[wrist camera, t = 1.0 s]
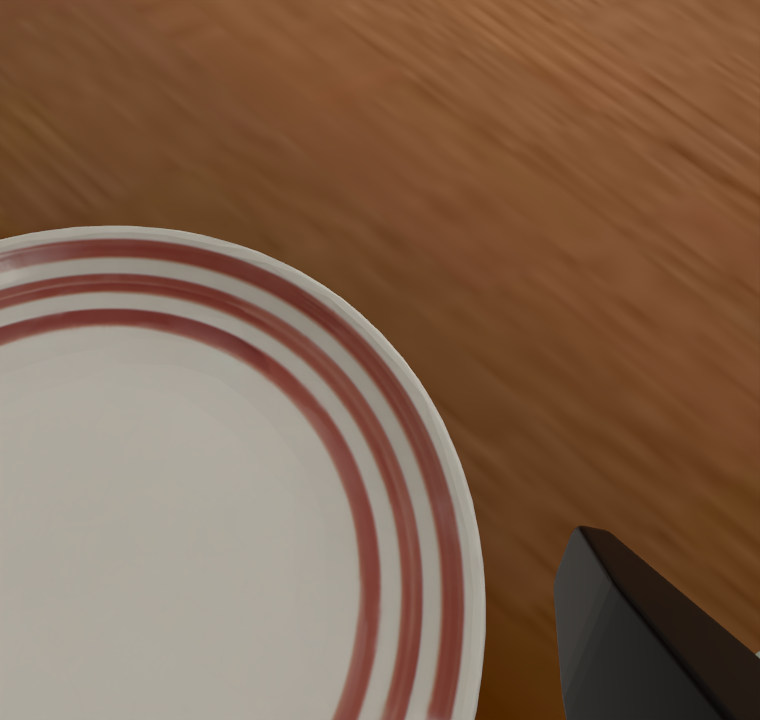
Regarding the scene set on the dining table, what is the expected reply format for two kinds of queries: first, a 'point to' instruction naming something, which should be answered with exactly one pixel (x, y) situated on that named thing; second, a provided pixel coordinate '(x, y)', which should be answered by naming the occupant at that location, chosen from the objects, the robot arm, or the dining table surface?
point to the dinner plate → (220, 495)
